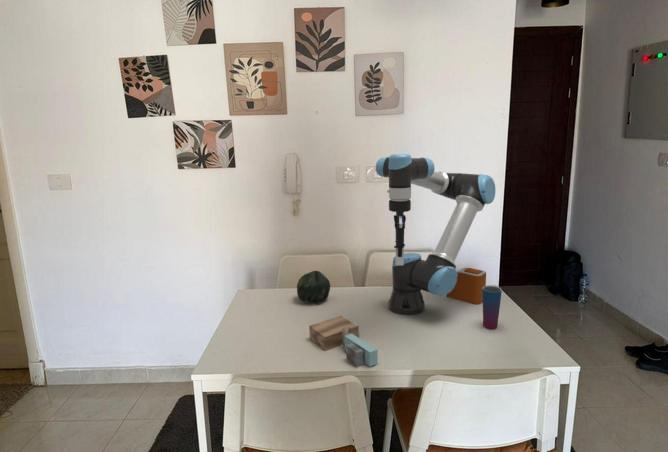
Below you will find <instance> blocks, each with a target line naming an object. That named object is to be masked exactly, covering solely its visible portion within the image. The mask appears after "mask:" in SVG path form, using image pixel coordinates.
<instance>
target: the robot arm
mask: <svg viewBox="0 0 668 452" xmlns="http://www.w3.org/2000/svg"><path fill="white" fill-rule="evenodd" d="M375 172H376V174H377V175H378V176H379V177H381V178H382V177H383V178H388V189H387V190H386V192H387V194H388V199H389V200H388V210H389V211H390V212H393V213H395V214H394V215H393V220H394V229H395V241H394V243H395V245H394V246H393V248H394V249H395V256H394V257H393V258H392V265H391V268H392V269H391V270H392V274H391V275H392V290H391V294H390V298H389V300H388V309H389V310H390V312H391V311H392V312H393V313H396V314H398V315H406V316H407V315H417V314H421V313H422V312H424V311H425V307H426V303H425V300H424V296H423V292H422V291H424V292H427V293H430V294H432V295H437V296H445V295H446V296H447V294H448V293H449V292H451V291H452V289H453V288H454V286H455V284H456V282H457V279H456V278H457V271H458V270H457V265H456V263H455V261H456V259H457V256H458V254H459V252H460V250H461V248H462V246H463V243H464V241H465V239H466V237H467V235H468V232H469V230H470V228H471V226H472V223H473V221H474V219H475V217H476V216H477V213H478V212H482V211H483V210H484V207H485V205H489V204H492V203H493V202H494V199H495V198H496V191H497V190H496V184H495V183H496V182H495V180H494V178H493V177H492V176H491V175H489V174H483V173H480V174H476V173H475V174H474V173H464V172H463V173H462V172H455V173H454V172H453V173H452V172H444V171H435V164H434V161H433V160H432V159H431V158H429V157H412V155H411V154H409V153H395V154H391V155H389V156H386V157H380V158H379V159H378V160H377V161H376V164H375ZM412 185H415V186H417V187H421V188H424V189H427V190H430V191H431V192H432V193H433V194H435V195H440V196H442V197H444V198H447V199H450V200H454V201H455V202H456V205H455V207H454V209H453V211H452V214H451V216H450V218H449V219H448V222H447V225H446V226H445V228H444V230H443V233H442V234H441V237H440V238H439V241H438V244H437V245H436V247H435V250H434V252H432V253H429V254H428V255H427V257H426V260H423V259H422V255H421V254H420V253H415V252H413V253H412V252H411V253H410V252H408V253H407V252H406V253H405V252H404V251H405V250H404V248H405V247H406V244H405V229H406V222H407V217H406V215H405V212H406V213H407V212H410V211H411V210H412V209H411V208H412V203H411V202H412V201H411V198H412Z"/></svg>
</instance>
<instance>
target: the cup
mask: <svg viewBox="0 0 668 452" xmlns="http://www.w3.org/2000/svg"><path fill="white" fill-rule="evenodd" d="M502 292H503V288H501V287H500V286H496V285H486V286H484V287H483V288H482V294H483V302H482V324H483V328H485V329H487V330H496V329H498V325H499V315H500V307H501V301H502V294H503V293H502Z"/></svg>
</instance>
